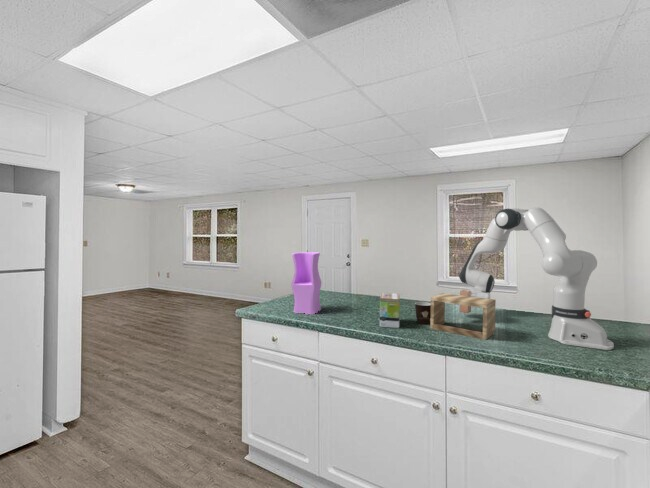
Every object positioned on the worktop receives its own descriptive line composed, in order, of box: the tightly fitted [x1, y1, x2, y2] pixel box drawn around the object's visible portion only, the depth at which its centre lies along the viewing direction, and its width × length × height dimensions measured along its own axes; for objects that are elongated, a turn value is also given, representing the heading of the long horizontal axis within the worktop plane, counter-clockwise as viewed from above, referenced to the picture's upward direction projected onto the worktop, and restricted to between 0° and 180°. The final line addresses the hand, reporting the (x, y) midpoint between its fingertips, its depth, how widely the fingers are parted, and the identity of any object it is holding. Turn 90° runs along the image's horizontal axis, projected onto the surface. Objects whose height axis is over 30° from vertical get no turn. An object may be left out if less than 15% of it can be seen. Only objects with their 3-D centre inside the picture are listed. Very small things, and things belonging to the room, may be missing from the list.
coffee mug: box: [414, 301, 431, 325], centre depth 172 cm, size 12×9×10 cm
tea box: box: [379, 292, 401, 329], centre depth 171 cm, size 15×10×15 cm
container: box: [291, 251, 322, 315], centre depth 197 cm, size 14×14×35 cm
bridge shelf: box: [430, 292, 497, 340], centre depth 159 cm, size 26×14×16 cm, turn 49°
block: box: [459, 289, 472, 314], centre depth 174 cm, size 4×5×11 cm
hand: (464, 300), depth 173 cm, fingers closed on block, 4 cm apart
